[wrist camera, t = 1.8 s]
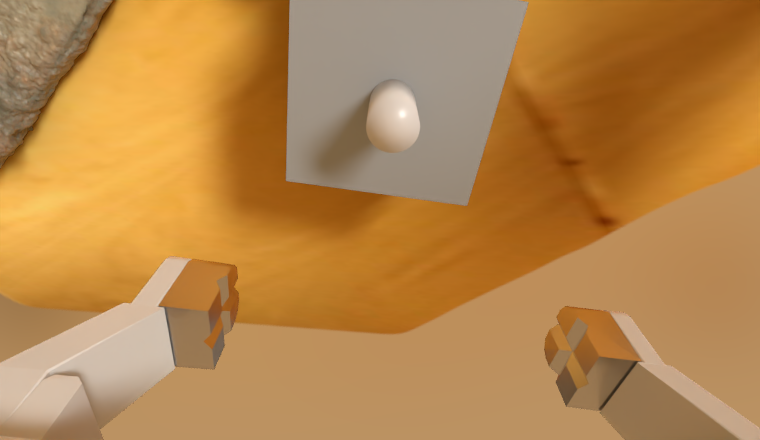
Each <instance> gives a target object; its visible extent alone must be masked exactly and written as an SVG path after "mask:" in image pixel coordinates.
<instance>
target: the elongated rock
mask: <svg viewBox="0 0 760 440" xmlns="http://www.w3.org/2000/svg"><path fill="white" fill-rule="evenodd" d="M112 1H113V0H0V168H1V167H2V165H3V164H4V162H5V160H6V159H7V158H8V156H11V155H13V154H14V152H15V151H14V150H15V149H16V148H17V147H18V146H19V145H21V144H23V138H24V136H25V135H26V134H27V133H28V131H27V130H30V131H32V130H33V127H32V125H33V123H35V122H36V120H37V119H38V115H39V114H40V113H41V111H40V110H39V109H40V108H42V107H43V106H45V104H46V103H47V101H48V99H49V97H50V96H51V95H52V93H54V90H55V86H57V85H58V81H59V80H60V79H61V78H62V76H64V75H65V74H66V73H67V71H69V70H70V68H71V67H72V66H73V65H74V60H75V59H76V58H77V57H78V56H79V55H80V54H81V53H83V52H85V51H86V50H87V47H88V44H89V40H90V39H91V38H92V36H93V33H94V32H95V31H96V30H97V29H98V24H99V21H100V20H101V18H102V15H103V13H104V12H105V11H106V10H107V8H108V7H109V5H110V4H111V3H112Z"/></svg>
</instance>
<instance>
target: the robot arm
mask: <svg viewBox="0 0 760 440" xmlns="http://www.w3.org/2000/svg"><path fill="white" fill-rule="evenodd" d="M237 279H238V274H237V267H236V266H235V265H231V264H225V263H218V262H211V261H204V260H197V259H188V258H181V257H174V256H170V257H168V258H166V259H165V260H164V261H163V263H162V264H161V265H160V267H159V268H158V269H157V270H156V272H155V273H154V274H153V276H152V277H151V278H150V279H149V281H148V282H147V283H146V284H145V286H144V287H143V288H142V290H141V291H140V292H139V293H138V295H137V296H136V297H135V299H134V300H133V301H132V302H131V304H130V303H122V304H120V305H118V306H116V307H114V308H112V309H110V310H108V311H106V312H104V313H102V314H100V315H98V316H96V317H94V318H91V319H90V320H87V321H85V322H83V323H81V324H79V325H77V326H75V327H73V328H71V329H69V330H67V331H65V332H63V333H60V334H58V335H56V336H54V337H52V338H50V339H48V340H46V341H44V342H42V343H40V344H38V345H36V346H34V347H32V348H30V349H28V350H25V351H23V352H22V353H19V354H17V355H15V356H13V357H11V358H9V359H7V360H5V361H3V362H1V363H0V440H103V437H102V434H101V432H100V429H101V428H102V427H104V426H105V425H106V424H107V423H108V422H110V421H111V420H112V419H113V418H115V417H116V416H117V415H118V414H119V413H121V412H122V411H123V410H125V409H126V408H127V407H128V406H130V405H131V404H132V403H133V402H134V401H136V400H137V399H138V398H139V397H141V396H142V395H143V394H144V393H146V392H147V391H148V390H149V389H150V388H152V387H153V386H154V385H155V384H157V383H158V382H159V381H160V380H162V379H163V378H164V377H165V376H167V375H168V374H169V373H170V372H171V371H173V370H174V369H175V366H176V367H189V368H202V369H215V366H216V364H217V362H218V359H219V357H220V355H221V352H222V350H223V348H224V335H225V334H227V333H228V332H230V331H231V329H232V327H233V325H234V322H235V319H236V315H237V311H238V303H239V292H238V291H237V290H236V289H235V288H234V285H235V283H236V281H237ZM557 320H558V323H559V324H558V325H556V326H555V327H553V328H551V329H550V330H549V332H548V334H547V336H546V338H545V348H544V350H545V356H546V359H547V362H548V365H549V367H551V369H552V370H554V371H555V372H556V373H557V374H558V377H557V380H556V384H557V386H558V389H559V391H560V393H561V395H562V398H563V400H564V403H565V405H566V407H573V408H581V409H589V410H596V411H601V412H600V414H601V415H602V416H603V417H604V418H605V419H606V420H607V421H608V422H609V423H610V424H611V425H612V427H613V428H615V430H616V431H617V432H618V433H619V434H620V435H621V436H622V437H623V438H624V439H625V440H760V428H759V427H757V426H756V425H754V424H753V423H752V422H750V421H749V420H747V419H746V418H745V417H743V416H742V415H740V414H739V413H737V412H736V411H734V410H733V409H732V408H730V407H729V406H727V405H726V404H725V403H723V402H722V401H720V400H719V399H718V398H716V397H715V396H713V395H712V394H710V393H709V392H708V391H706V390H705V389H703V388H702V387H701V386H699V385H698V384H696V383H695V382H693V381H692V380H691V379H689V378H688V377H686V376H685V375H684V374H682V373H680V372H679V371H678V370H676V369H675V368H673V367H672V366H668V365H665V364H664V363H663V361H662V360H661V359H660V357H659V356H658V355H657V353H656V352H655V350H654V349H653V348H652V346H651V345H650V344H649V342H648V341H647V340H646V338H645V337H644V336H643V334H642V333H641V331H640V330H639V328H638V327H637V326H636V324H635V323H634V321H633V320H632V319H631V317H630V316H629V315H627V314H626V313H624V312H616V311H607V310H604V311H602V310H594V309H586V308H577V307H569V306H565V307H564V308H562V309H561V310H560V312H559V314H558V315H557Z"/></svg>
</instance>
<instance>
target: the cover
mask: <svg viewBox="0 0 760 440" xmlns="http://www.w3.org/2000/svg"><path fill="white" fill-rule="evenodd" d="M528 3H529V2H525V1H520V0H290V9H289V57H288V105H287V153H286V181H290V182H297V183H304V184H312V185H319V186H326V187H333V188H341V189H348V190H355V191H363V192H370V193H377V194H384V195H392V196H399V197H406V198H414V199H421V200H428V201H435V202H443V203H450V204H457V205H464V206H467V205H468V201H469V198H470V195H471V191H472V188H473V185H474V181H475V178H476V175H477V172H478V168H479V165H480V162H481V158H482V155H483V152H484V148H485V145H486V142H487V138H488V135H489V132H490V129H491V125H492V122H493V119H494V115H495V112H496V109H497V105H498V102H499V99H500V96H501V92H502V89H503V86H504V82H505V79H506V76H507V72H508V69H509V66H510V62H511V59H512V56H513V53H514V49H515V46H516V43H517V39H518V36H519V33H520V29H521V26H522V23H523V20H524V16H525V13H526V10H527V6H528Z"/></svg>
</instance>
